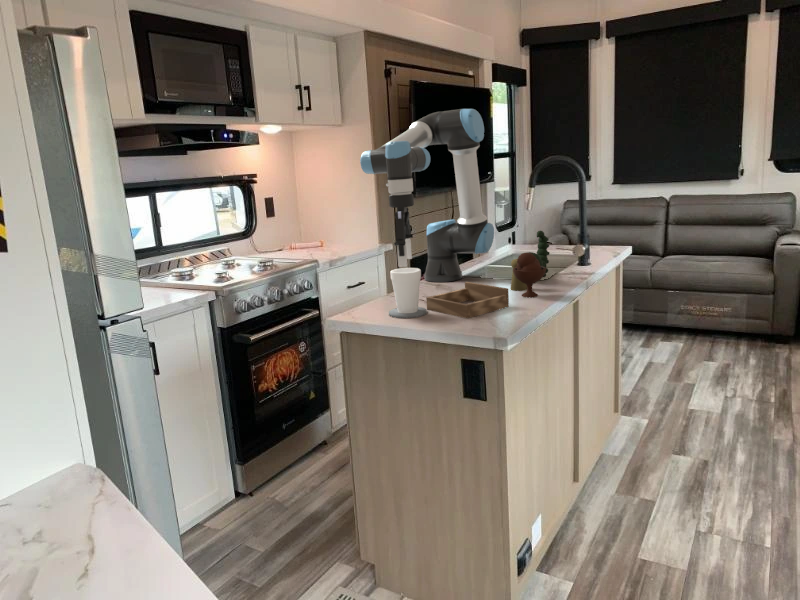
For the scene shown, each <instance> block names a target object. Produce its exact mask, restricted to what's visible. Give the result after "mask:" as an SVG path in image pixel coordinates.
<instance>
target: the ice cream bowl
mask: <svg viewBox="0 0 800 600" xmlns="http://www.w3.org/2000/svg"><path fill="white" fill-rule="evenodd" d="M516 259H517V267H515V268H512V271H513V273H514V275H515V277H516V278H517V279H518V280H519V281H521V282H522V283H525V284H526V285H527V290H525V291H524V292H523V293H522V294H521V297H522V298H526V297H527V298H529V297H530V298H532V297H533V298H537V297H539V294H538V293H536V292H535V291H533V285H534V284H536V283H538V282H539V281H541V280H542V279H543V278H544V277H543V276H544V275H545V273H546V268H547V267H546V268H545V267H543V266H540V262H539V261H538V259H536V257H535V256H534V255H533V254H531V253H527V252H523V253H521V254H519V255H518V257H517V258H516ZM546 274H547V273H546ZM530 298H529V299H530Z"/></svg>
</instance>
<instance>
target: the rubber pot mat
mask: <svg viewBox="0 0 800 600" xmlns="http://www.w3.org/2000/svg"><path fill="white" fill-rule="evenodd" d="M427 314H428V311H427V308H425V307H422V306H418V311H417V312H414V313H399V312H398V310H397V307H396V308H393V309H391V310H390V309H389V311H388V316H389V315H390V316H389V317H391V316H392V317H391V318H394V317H396V318H397V319H412V318H419V317H423V316H425V315H427ZM396 318H395V319H396Z"/></svg>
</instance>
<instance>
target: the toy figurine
mask: <svg viewBox="0 0 800 600" xmlns="http://www.w3.org/2000/svg"><path fill="white" fill-rule="evenodd" d="M536 238H538V243H537V251H536V253H535V252H532V251H528V252H526V253H531V254H533V255H534V256H535V257H536V259H538V261H539V262H540V266H543V267H545V268H546V273H545V275H544V276H543V278H547V277H546V276H547V274H548V273H549V269H548V268H547V265H548V264H549V262H550V261H549V259H548V256H549V255H550V251H548V248H550V244H549V243H548V241H549V237H547V236H546V235H545V232H544V231H543V230H538V231H537V232H536Z"/></svg>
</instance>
